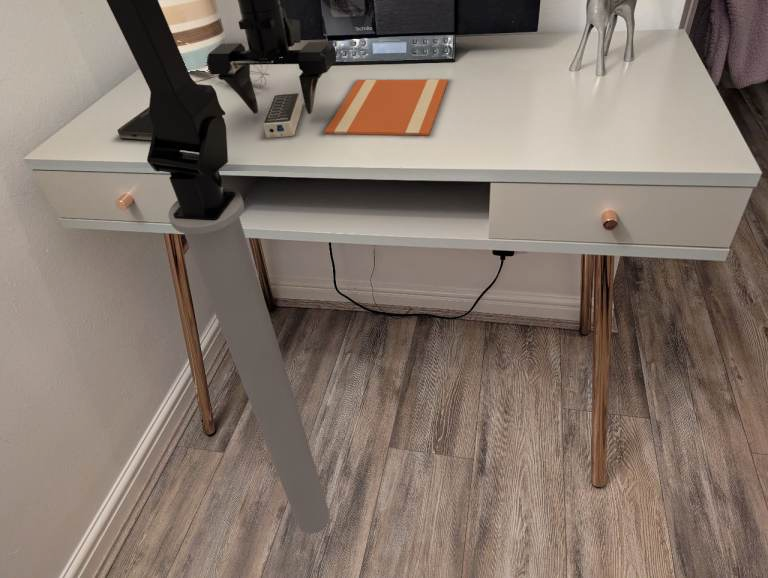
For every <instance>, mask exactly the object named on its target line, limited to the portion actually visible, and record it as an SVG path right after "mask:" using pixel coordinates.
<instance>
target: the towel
mask: <svg viewBox="0 0 768 578" xmlns="http://www.w3.org/2000/svg"><path fill="white" fill-rule="evenodd" d="M448 82H449V80H448V79H443V78H442V79H439V78H437V79H436V78H435V79H431V78H429V79H428V78H427V79H357V80H356V82H355V84H354V85H353V87H352V88H351V90H350V91H349V92H348V94H347V96H346V97H345V99H344V101H343V102H342V104H341V105H340V107H339V109H337V111H336V113H335V115H334V116H333V118H332V119H331V121H330V123H328V126H327V127H326V129H325V130H324V134H326V135H327V134H329V135H377V136H378V135H379V136H384V135H385V136H386V135H387V136H388V135H389V136H430V133H431V131H432V127H433V124H434V122H435V119H436V116H437V113H438V110H439V108H440V105H441V103H442V99H443V97H444V93H445V91H446V88H447V85H448Z"/></svg>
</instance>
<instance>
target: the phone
mask: <svg viewBox="0 0 768 578" xmlns="http://www.w3.org/2000/svg"><path fill="white" fill-rule="evenodd" d="M153 132H154V128H153V125H152V122H151V119H150V116H149V106H148V107H147V108H145V109H144V110H142V111H141V112H140V113H139V114H137V115H136V116H135V117H133V118H131V119H130V120H129V121H127V122H126V123H125V124H124V125H122V126H120V127H119V128H118V129H117V133H118V134H117V135H118V136H119V139H122V140H137V141H150V142H151V140H152V136H153Z"/></svg>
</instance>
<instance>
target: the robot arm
mask: <svg viewBox="0 0 768 578" xmlns="http://www.w3.org/2000/svg"><path fill="white" fill-rule="evenodd" d="M106 3H107V4H108V7H109V9H110V11H111V13H112V15H113V17H114V19H115V22H116V23H117V25H118V27H119V29H120V31H121V33H122V36H123V38H124V39H125V41H126V44H127V46H128V48H129V50H130V52H131V54H132V57H133V58H134V60H135V62H136V65H137V66H138V68H139V71H140V72H141V75H142V76H143V79H144V81H145V83H146V84H147V87H148V90H149V92H150V96H149V104H148V107H149V116H150V119H151V122H152V125H153V128H154V132H153V136H152V140H151V141H150V145H149V150H148V153H147V158H146V161H147V164H149V166H150V167H151V168H152V169H153V170H154V171H155V172H159V173H160V172H163V173H169V175H170V176H169V181H170V185H171V186H172V189H173V191H174V195H175V197H176V201H177V200H178V202H179V205H180V207H179V208H178V209H177V210H176V212H175V213H174V214H173V216H174V218H176V219H193V220H211V221H215V220H218V219H219V217H220V216H221V215H222V213H223V212H224V211H225V209H226V208H227V207H228V205H229V204H230V203H231V201H232V200H233V199H234V197H235V196H236V195H235V192H228V191H224V187H225V186H222V184H223V182H222V181H223V180H222V177H221V174H220V171H219V170H221V169H222V168H223V167H225V165H227V164H228V162H229V156H228V137H227V134H228V133H227V125H226V121H225V118H224V116H226V112H225V111H224V109H223V108H222V106H221V104H220V102H219V98H218V94H217V91H216V90H215V88H214V86H213V85H211V84H202V83H201V84H200V83H197V82H196V81H195V80H193V78H192V77H191V75H190V73H189V69H187V68H186V66H185V63H184V61H183V58H182V56H181V54H182V53H181V51H180V49H179V47H178V44H177V42H176V40H175V38H174V35H173V32H172V31H171V28H170V25H169V23H168V20H167V18H166V16H165V13H164V11H163V9H162V6H161V4H160V2H159V0H106ZM237 4H238V8H239V12H240V16H241V19H240V20H239V21H238V27H239V30H244V33H245V38H246V41H247V47H248V49H247V50H246V47H245V46H244V45H243V43H239V42H238V43H237V42H236V43H235V42H233V43H232V42H231V43H219V45H218V46H216V47H215V48H213V50H211V51H210V52H209V53H208V54H207V56H206V58H207V62H206V63H207V66H208V70H209V72H208V73H209V74H210V75H212V76H213V75H216V76H217V77H219V79H218V80H220V81H222V80H224V81H226V82H227V83H228V84H227V83H226V84H227V85H228V86H230V88H231V89H232V90H233V91H234V92H235V93H236V94H237V95H238V97H240V98H241V100H242V101H243V102H244V104H245V105H246V106H247V107H248V109H249V110H250V111H251V112H252V114H255V115H256V114H257V113H258V112H259V106H258V100H257V97H256V93H255V90H254V89H255V88H254V86H253V83H252V82H253V81H252V78H251V74H250V73H251V72H250V71H251V66H254V65H255V66H257V65H260V66H261V65H262V66H263V65H267V64H268V65H298V69H299V70H300V71H301V73H300V75H299V77H298V78H299V83H300V87H301V93H302V97H303V102H304V107H305V109H306V112H307V115H311V114H312V112H313V109H314V103H315V96H316V90H317V85H318V81H319V79H320V78H321V76H322V75H324V74H326V73H328V71H330V69H331V68H332V67H333V65H334V64H335V62H336V61H337V51H336V47H335V46H334V44H333V43H332V42H331V41H307V43H306V44H305V45H304V46H303V47H302V48H301V49H290V47H292V48H293V47H294V46H295V44H299V43H301V42H302V38H301V37H302V36H301V23H300V22H301V21H300V20H298V19H291V18H288V16H287V15H288V14H287V12H286V10H285V8H282V7H281V1H280V0H237Z"/></svg>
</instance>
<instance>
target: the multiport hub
mask: <svg viewBox="0 0 768 578" xmlns="http://www.w3.org/2000/svg"><path fill="white" fill-rule="evenodd" d="M302 110H303V103H302V97H301V93H299V92H297V93H286V94H285V93H284V94H275V95H273V97H272V100H271V102H270V104H269V106H268V109H267V112H266V114H265V117H264V119H263V122H262V126H263V130H264V134H265V137H266V138H267V139H272V138H281V137H282V138H283V137H284V138H285V137H293V136H295V133H296V130H297V127H298V124H299V121H300V117H301V114H302Z"/></svg>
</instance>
